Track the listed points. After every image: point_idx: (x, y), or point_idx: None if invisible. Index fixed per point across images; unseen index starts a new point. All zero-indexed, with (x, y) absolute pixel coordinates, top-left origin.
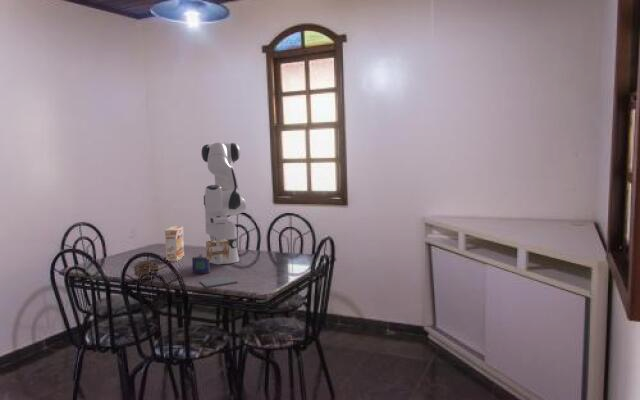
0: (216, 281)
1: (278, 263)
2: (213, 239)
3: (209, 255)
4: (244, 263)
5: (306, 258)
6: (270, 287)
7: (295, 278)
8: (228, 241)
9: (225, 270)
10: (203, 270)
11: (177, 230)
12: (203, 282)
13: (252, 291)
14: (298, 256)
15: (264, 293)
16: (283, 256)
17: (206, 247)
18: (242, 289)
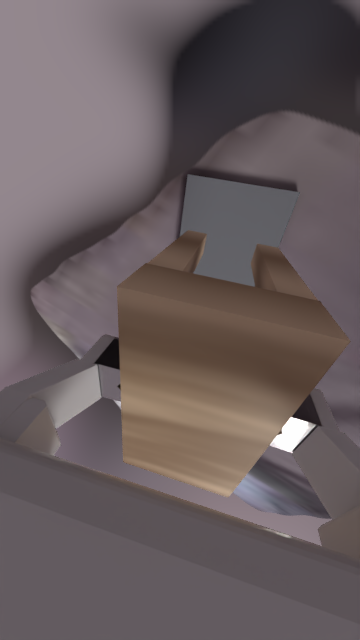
0: (222, 253)
1: (259, 463)
2: (307, 458)
3: (188, 240)
4: (355, 441)
5: (242, 496)
6: (80, 336)
7: (120, 404)
8: (125, 456)
9: (350, 369)
10: None
11: None
12: (256, 194)
13: (64, 285)
14: (270, 503)
15: (37, 296)
16: (303, 500)
17: (295, 284)
18: (95, 275)
